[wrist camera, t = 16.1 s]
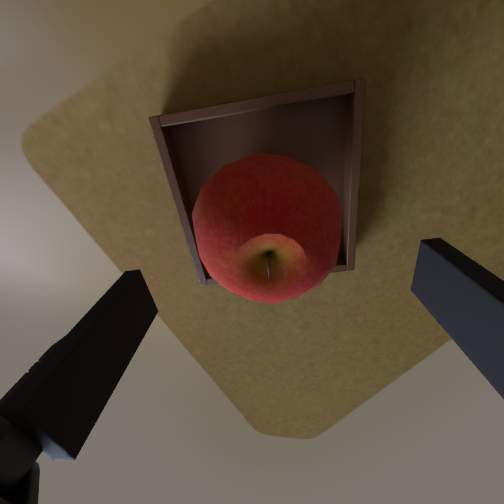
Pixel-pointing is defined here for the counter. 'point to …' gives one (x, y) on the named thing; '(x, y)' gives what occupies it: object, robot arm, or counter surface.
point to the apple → (268, 227)
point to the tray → (268, 148)
